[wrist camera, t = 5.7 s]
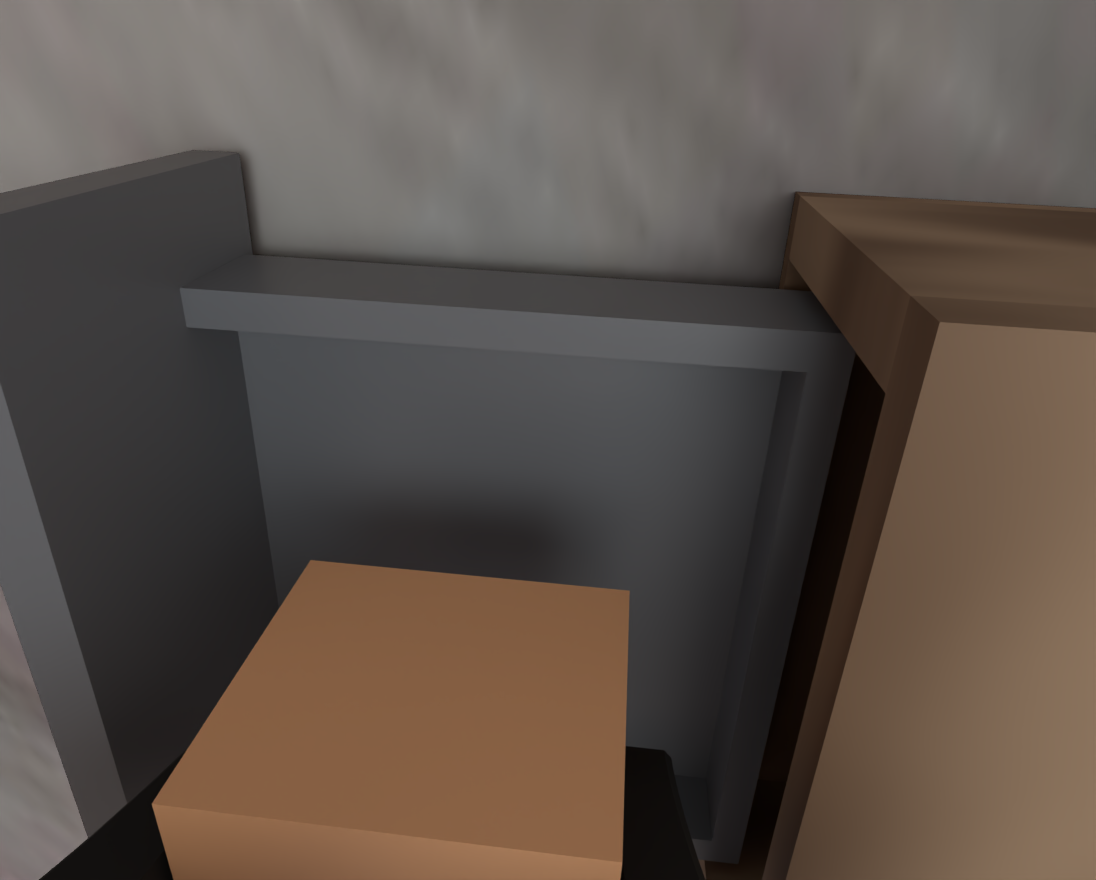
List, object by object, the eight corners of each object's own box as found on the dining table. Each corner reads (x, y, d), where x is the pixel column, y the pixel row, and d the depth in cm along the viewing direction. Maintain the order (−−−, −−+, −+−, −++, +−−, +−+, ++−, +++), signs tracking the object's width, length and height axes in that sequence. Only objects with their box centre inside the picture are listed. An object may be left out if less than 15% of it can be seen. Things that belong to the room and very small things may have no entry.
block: (606, 812, 13) (592, 1110, 9) (338, 780, 13) (223, 1054, 9) (630, 590, 11) (621, 863, 7) (311, 560, 11) (151, 803, 7)
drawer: (289, 764, 19) (156, 1036, 14) (191, 150, 13) (-125, 221, 8) (717, 814, 19) (747, 1122, 13) (843, 185, 12) (1006, 293, 7)
